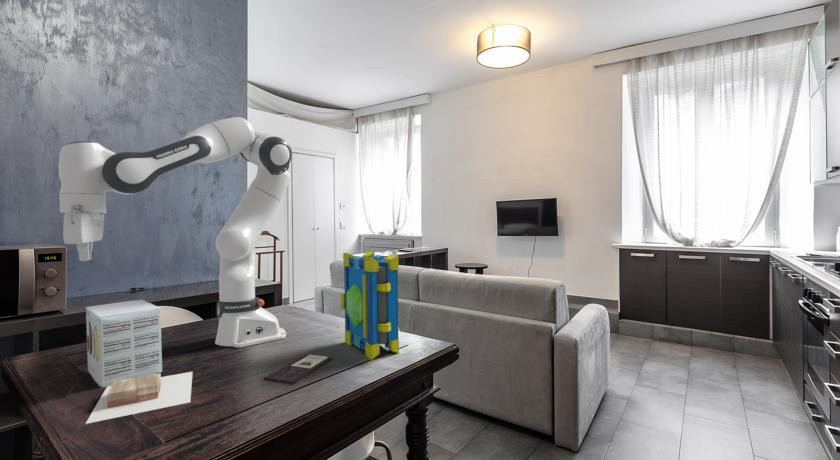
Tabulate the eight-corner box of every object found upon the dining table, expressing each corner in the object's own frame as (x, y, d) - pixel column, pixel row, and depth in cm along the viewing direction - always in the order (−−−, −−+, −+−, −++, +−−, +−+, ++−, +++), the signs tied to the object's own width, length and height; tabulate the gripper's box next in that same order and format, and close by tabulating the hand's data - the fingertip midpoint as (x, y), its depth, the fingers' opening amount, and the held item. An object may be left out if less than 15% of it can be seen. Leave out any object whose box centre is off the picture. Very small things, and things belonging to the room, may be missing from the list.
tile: (160, 373, 95) (114, 381, 90) (157, 385, 88) (107, 394, 83) (161, 385, 95) (114, 393, 90) (157, 398, 88) (107, 408, 83)
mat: (192, 373, 103) (192, 371, 103) (190, 404, 86) (190, 402, 86) (107, 388, 94) (107, 386, 94) (85, 426, 77) (85, 423, 77)
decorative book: (374, 335, 136) (373, 250, 136) (408, 353, 117) (407, 255, 116) (336, 342, 128) (334, 252, 128) (365, 363, 109) (364, 258, 108)
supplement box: (85, 373, 104) (83, 306, 104) (144, 359, 115) (142, 298, 114) (100, 391, 93) (98, 316, 93) (163, 373, 104) (162, 306, 103)
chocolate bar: (263, 377, 99) (306, 354, 116) (263, 381, 99) (306, 357, 116) (293, 382, 96) (332, 357, 113) (293, 385, 96) (332, 360, 113)
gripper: (89, 204, 90) (90, 263, 90) (108, 207, 108) (109, 256, 108) (52, 204, 87) (55, 265, 87) (78, 207, 105) (80, 258, 105)
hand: (85, 260), depth 98 cm, fingers closed
